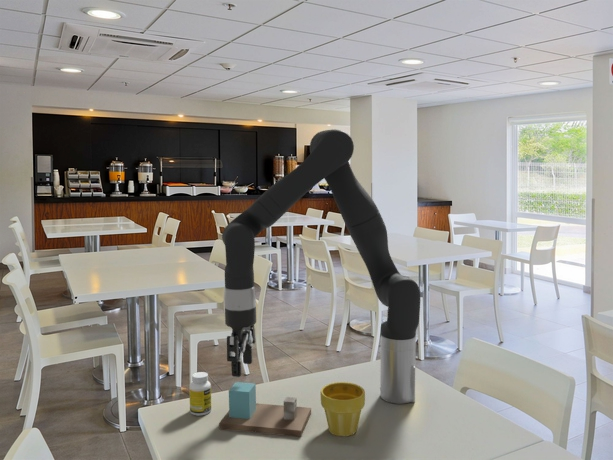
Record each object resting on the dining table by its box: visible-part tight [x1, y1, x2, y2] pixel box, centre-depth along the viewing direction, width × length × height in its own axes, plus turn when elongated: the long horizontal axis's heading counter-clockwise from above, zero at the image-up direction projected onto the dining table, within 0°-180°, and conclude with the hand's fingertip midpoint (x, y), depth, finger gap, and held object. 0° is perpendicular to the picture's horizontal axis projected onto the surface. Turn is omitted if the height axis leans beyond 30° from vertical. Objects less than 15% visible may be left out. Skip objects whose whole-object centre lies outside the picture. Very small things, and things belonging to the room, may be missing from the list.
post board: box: [218, 396, 312, 438], centre depth 132 cm, size 20×12×6 cm, turn 78°
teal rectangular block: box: [228, 381, 257, 419], centre depth 133 cm, size 5×5×7 cm
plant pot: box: [320, 381, 366, 437], centre depth 127 cm, size 10×10×10 cm
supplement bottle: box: [188, 371, 212, 417], centre depth 137 cm, size 5×5×10 cm
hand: (242, 369), depth 132 cm, fingers open, 8 cm apart
